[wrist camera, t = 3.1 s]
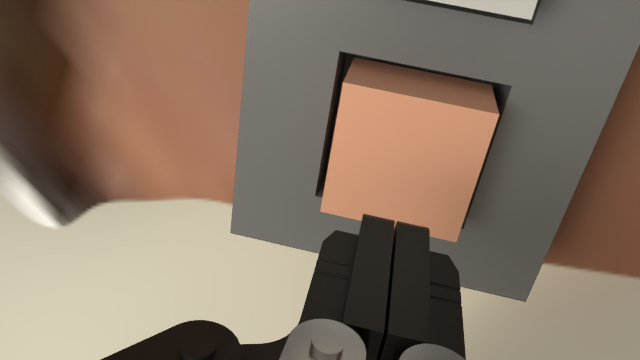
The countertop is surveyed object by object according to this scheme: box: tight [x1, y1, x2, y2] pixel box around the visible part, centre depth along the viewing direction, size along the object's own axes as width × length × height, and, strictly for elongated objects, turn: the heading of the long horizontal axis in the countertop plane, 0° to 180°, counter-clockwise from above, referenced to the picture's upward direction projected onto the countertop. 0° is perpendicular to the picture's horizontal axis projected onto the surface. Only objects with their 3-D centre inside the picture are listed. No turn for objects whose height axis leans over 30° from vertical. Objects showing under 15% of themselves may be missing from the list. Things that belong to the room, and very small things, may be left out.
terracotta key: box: [320, 57, 499, 242], centre depth 18 cm, size 4×4×2 cm
